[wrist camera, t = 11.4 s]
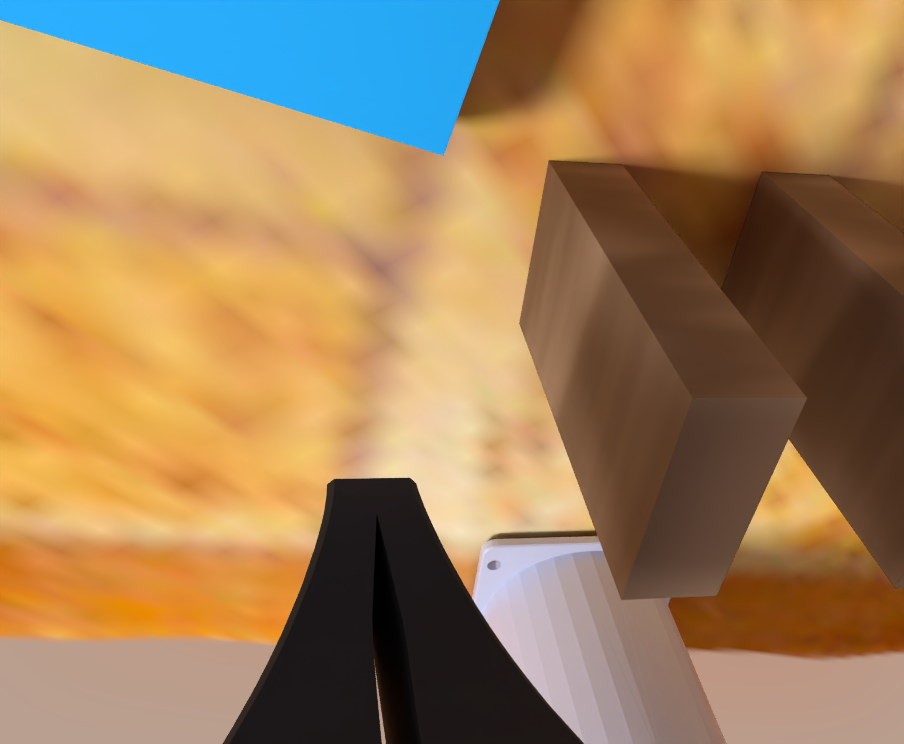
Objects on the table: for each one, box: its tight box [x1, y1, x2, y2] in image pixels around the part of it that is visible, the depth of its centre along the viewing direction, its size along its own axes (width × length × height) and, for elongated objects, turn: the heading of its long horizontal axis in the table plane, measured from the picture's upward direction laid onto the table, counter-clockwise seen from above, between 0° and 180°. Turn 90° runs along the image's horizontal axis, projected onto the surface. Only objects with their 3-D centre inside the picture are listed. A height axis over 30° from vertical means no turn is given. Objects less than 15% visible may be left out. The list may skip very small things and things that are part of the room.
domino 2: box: [721, 172, 904, 588], centre depth 19 cm, size 2×5×10 cm, turn 174°
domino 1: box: [519, 161, 807, 600], centre depth 18 cm, size 2×5×10 cm, turn 174°
